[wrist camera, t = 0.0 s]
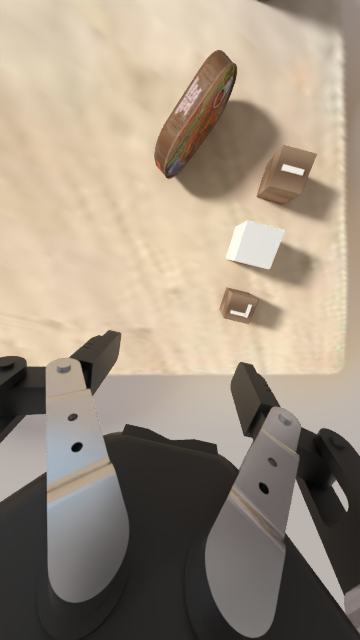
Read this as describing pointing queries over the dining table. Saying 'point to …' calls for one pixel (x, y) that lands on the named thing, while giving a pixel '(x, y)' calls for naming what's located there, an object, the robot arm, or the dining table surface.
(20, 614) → the robot arm
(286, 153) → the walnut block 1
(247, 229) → the plain block
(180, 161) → the tin
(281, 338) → the dining table surface
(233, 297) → the walnut block
